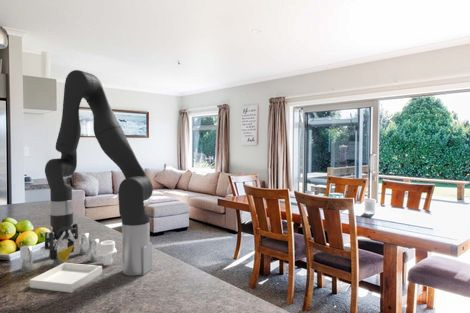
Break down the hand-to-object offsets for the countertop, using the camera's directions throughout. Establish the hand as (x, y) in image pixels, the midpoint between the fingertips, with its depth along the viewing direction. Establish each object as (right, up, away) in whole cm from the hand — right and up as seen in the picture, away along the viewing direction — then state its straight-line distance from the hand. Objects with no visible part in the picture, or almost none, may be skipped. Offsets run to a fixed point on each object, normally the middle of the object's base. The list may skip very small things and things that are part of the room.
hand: (62, 255), depth 123 cm
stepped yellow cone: (0, -3, 0) cm, 3 cm away
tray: (+9, -4, -14) cm, 17 cm away
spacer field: (+1, -3, +3) cm, 4 cm away
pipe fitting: (+17, -3, +1) cm, 17 cm away
